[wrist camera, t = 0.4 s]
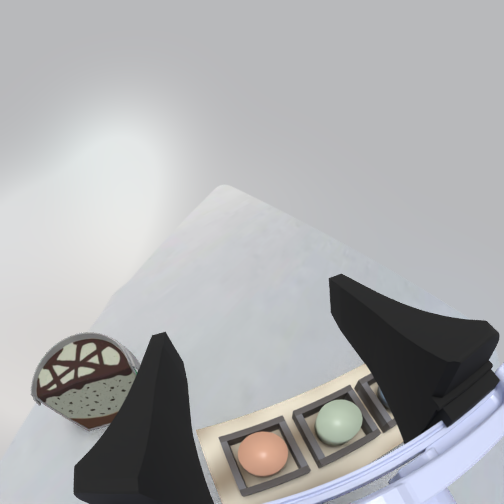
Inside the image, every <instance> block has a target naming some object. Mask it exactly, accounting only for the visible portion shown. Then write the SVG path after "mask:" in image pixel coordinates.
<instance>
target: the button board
mask: <svg viewBox="0 0 504 504" xmlns="http://www.w3.org/2000/svg"><path fill="white" fill-rule="evenodd" d="M377 390H378V384H377V382H376V381H375V379H374V377H373V375H372V373H371V372H370V370H369V369H368V367H367V366H366V364H363V365H361V366H359V367H357V368H356V369H354V370H352V371H350V372H348V373H346V374H344V375H342V376H340V377H338V378H335V379H333V380H331V381H329V382H327V383H325V384H323V385H321V386H318V387H316V388H314V389H312V390H309V391H307V392H305V393H302V394H300V395H298V396H295V397H293V398H290V399H288V400H285V401H283V402H280V403H278V404H275V405H273V406H270V407H267V408H265V409H262V410H259V411H256V412H253V413H251V414H248V415H245V416H242V417H239V418H236V419H232V420H229V421H226V422H223V423H220V424H216V425H213V426H209V427H206V428H202V429H198V430H196V432H197V435H198V438H199V441H200V444H201V447H202V450H203V453H204V456H205V459H206V462H207V465H208V467H209V470H210V473H211V476H212V478H213V481H214V484H215V486H216V489H217V491H218V494H219V496H220V499H221V501H222V504H263V503H267V502H270V501H274V500H277V499H281V498H284V497H288V496H291V495H294V494H297V493H300V492H303V491H306V490H309V489H312V488H314V487H317V486H320V485H322V484H325V483H327V482H330V481H332V480H335V479H337V478H340V477H342V476H344V475H347V474H349V473H351V472H353V471H355V470H358V469H360V468H362V467H364V466H366V465H368V464H370V463H371V462H373V461H375V460H376V459H378V458H379V457H381V456H383V455H384V454H386V453H387V452H389V451H390V450H392V449H393V448H395V447H396V446H398V445H399V444H401V443H402V442H404V441H403V438H402V436H401V433H400V431H399V428H398V426H397V423H396V421H395V419H394V417H393V414H392V412H391V410H390V408H388V407H386V406H384V405H383V404H382V403H381V401H380V400H379V397H378V393H377ZM334 400H347V401H350V402H352V403H354V404H355V405H356V406H357V407H358V408H359V409H360V411H361V414H362V419H363V420H362V426H361V428H360V430H359V431H358V433H357V434H356V435H355V436H354V437H353V438H352V439H351V440H350V441H348V442H347V443H345V444H342V445H336V446H335V445H328V444H326V443H324V442H322V441H321V440H320V439H319V438H318V437H317V435H316V433H315V428H314V425H315V421H316V418H317V416H318V413H319V411H320V410H321V408H322V407H323V406H324V405H325V404H327V403H329V402H331V401H334ZM256 432H271V433H274V434H276V435H278V436H279V437H281V438H282V439H283V440H284V442H285V443H286V445H287V449H288V457H287V461H286V464H285V466H284V467H283V469H282V470H281V471H280V472H278V473H277V474H275V475H273V476H269V477H257V476H254V475H252V474H250V473H248V472H247V471H246V470H245V469H244V468H243V466H242V465H241V463H240V461H239V458H238V449H239V446H240V444H241V442H242V441H243V440H244V439H245V438H246V437H248V436H249V435H251V434H253V433H256Z"/></svg>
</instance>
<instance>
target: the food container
mask: <svg viewBox="0 0 504 504" xmlns="http://www.w3.org/2000/svg"><path fill="white" fill-rule="evenodd" d="M134 367H135V368H136V369H138V370H139V367H140V363H139V362H138V360H137V359H136V357H135V356H134V355H133V354H132V353H131V352H130V351H129V350H128V349H127V348H125V347H124V346H123V345H122V344H120V343H119V342H118V341H116V340H114V339H113V338H111V337H108V336H106V335H103V334H100V333H94V332H85V333H79V334H75V335H72V336H70V337H68V338H65V339H63V340H62V341H60V342H58V343H57V344H56V345H55V346H53V347H52V348H51V349H50V350H49V351H48V352H47V353H46V354H45V356H44V357H43V358H42V360H41V361H40V363H39V365H38V366H37V369H36V371H35V373H34V376H33V380H32V386H31V395H32V396H33V399H34V400H35V401H36V403H37V404H38V405H39V406H40V405H41V403H43V404H44V405H46V406H47V407H49V408H50V409H52V410H54V411H55V412H57V413H58V414H60V415H62V416H63V417H65V418H67V419H68V420H70V421H72V422H74V423H75V424H77V425H79V426H81V427H83V428H85V429H86V430H88V431H91V430H95V429H99V428H102V427H105V426H109V425H110V424H111V422H112V421H113V419H114V418H115V416H116V415H117V413H118V411H119V410H120V408H121V406H122V404H123V402H124V400H125V399H126V397H127V395H128V392H129V390H130V388H131V386H132V384H133V382H134V379H135V377H136V375H137V372H136V370H135V368H134Z"/></svg>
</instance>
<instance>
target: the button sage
mask: <svg viewBox="0 0 504 504" xmlns="http://www.w3.org/2000/svg"><path fill="white" fill-rule="evenodd" d="M362 420H363V419H362V414H361V411H360V409H359V408H358V407H357V406H356V405H355V404H354V403H352V402H350V401H347V400H334V401H331V402H329V403H327V404H325V405H324V406H323V407H322V408H321V410H320V411H319V413H318V416H317V418H316V421H315V425H314V428H315V433H316V435H317V437H318V438H319V439H320V440H321V441H322V442H324V443H326V444H328V445H335V446H336V445H342V444H345V443H347V442H348V441H350V440H351V439H352V438H353V437H354V436H355V435H356V434H357V433H358V431H359V430H360V428H361V426H362Z"/></svg>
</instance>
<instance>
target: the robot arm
mask: <svg viewBox="0 0 504 504" xmlns="http://www.w3.org/2000/svg"><path fill="white" fill-rule="evenodd" d="M329 287H330V304H331V314H332V316H333V317H334V319H335V321H336V323H337V325H338V327H339V328H340V330H341V332H342V333H343V334H344V336H345V337H346V339H347V340H348V341H349V343H350V344H351V345H352V347H353V348H354V349H355V351H356V352H357V353H358V355H359V356H360V358H361V359H362V360H363V362H364V363H365V364H366V366H367V367H368V369H369V370H370V372H371V373H372V375H373V377H374V379H375V381H376V382H377V384H378V386H379V388H380V390H381V392H382V394H383V396H384V398H385V400H386V402H387V404H388V406H389V408H390V410H391V412H392V414H393V417H394V419H395V421H396V423H397V426H398V428H399V431H400V433H401V436H402V438H403V441H404V444H405V445H403V446H401V447H399V448H398V449H396V450H394V451H393V452H391V453H389V454H387V455H385V456H383V457H382V458H380V459H378V460H376V461H374V462H372V463H370V464H368V465H366V466H364V467H362V468H360V469H358V470H355V471H353V472H351V473H349V474H347V475H344V476H342V477H340V478H337V479H335V480H332V481H330V482H327V483H325V484H322V485H320V486H317V487H314V488H312V489H309V490H306V491H303V492H300V493H297V494H294V495H291V496H288V497H284V498H281V499H277V500H274V501H270V502H267V503H263V504H322V503H325V502H327V501H330V500H333V499H335V498H338V497H340V496H342V495H345V494H347V493H349V492H352V491H354V490H356V489H358V488H360V487H362V486H365V485H367V484H369V483H371V482H373V481H375V480H377V479H379V478H380V477H382V476H384V475H386V474H388V473H390V472H392V471H393V470H395V469H397V468H399V467H400V466H402V465H404V464H405V463H407V462H409V461H410V460H412V459H414V458H415V457H417V456H418V455H420V454H421V455H420V456H418V457H417V458H415V459H414V460H413V461H411V462H410V463H408V464H407V465H405V466H404V467H402V468H401V469H399V470H398V473H397V474H396V475H395V476H394V477H393V478H392V479H390V480H389V482H388V483H389V485H388V486H386V487H384V488H382V489H380V490H378V491H376V492H374V493H372V494H369V495H367V496H365V497H363V498H361V499H359V500H356V501H354V502H352V503H349V504H457V503H456V501H455V500H454V498H453V496H452V495H451V493H450V491H449V490H448V488H447V487H448V486H449V485H450V484H452V483H453V482H454V481H456V480H457V479H458V478H459V477H460V476H462V475H463V474H464V473H465V472H466V471H468V470H469V469H470V468H471V467H472V466H473V465H474V464H476V463H477V462H478V461H479V460H480V459H481V458H482V457H483V456H484V455H485V454H486V453H487V452H488V451H489V450H490V449H491V448H492V447H493V446H494V445H495V444H496V443H497V442H498V441H499V440H500V439H501V438H502V437H503V436H504V363H503V364H502V365H501V366H500V367H499V368H498V369H497V370H496V371H495V373H494V372H493V371H492V370H491V368H492V367H493V365H492V363H491V362H490V361H489V359H490V357H491V355H492V353H493V351H494V349H495V348H496V346H497V343H498V341H499V333H498V332H497V331H496V330H495V329H494V328H493V327H492V326H491V325H490V324H489V323H488V322H487V321H481V320H466V319H459V318H452V317H447V316H442V315H438V314H433V313H429V312H426V311H422V310H419V309H416V308H413V307H410V306H407V305H405V304H402V303H400V302H397V301H395V300H393V299H390V298H388V297H386V296H384V295H382V294H380V293H378V292H376V291H374V290H372V289H370V288H368V287H366V286H364V285H362V284H360V283H358V282H356V281H354V280H353V279H351V278H349V277H347V276H345V275H343V274H339V275H336V276H334V277H331V278H329ZM74 495H75V496H76V497H77V498H78V499H80V500H82V501H84V502H87V503H89V504H214V503H213V500H212V497H211V495H210V492H209V489H208V487H207V484H206V481H205V478H204V475H203V472H202V468H201V465H200V461H199V458H198V454H197V450H196V446H195V442H194V438H193V433H192V426H191V417H190V406H189V394H188V383H187V378H186V373H185V368H184V363H183V361H182V359H181V357H180V356H179V354H178V352H177V351H176V349H175V347H174V346H173V344H172V342H171V341H170V339H169V337H168V335H167V334H166V332H163V333H159V334H156V335H152V337H151V339H150V342H149V345H148V347H147V350H146V352H145V355H144V358H143V360H142V363H141V365H140V367H139V370H138V372H137V375H136V377H135V379H134V382H133V384H132V386H131V388H130V390H129V392H128V395H127V397H126V399H125V400H124V402H123V404H122V406H121V408H120V410H119V411H118V413H117V415H116V416H115V418H114V419H113V421H112V422H111V424H110V425H109V427H108V428H107V430H106V431H105V432H104V434H103V435H102V436H101V438H100V439H99V440H98V441H97V443H96V444H95V445H94V446H93V447H92V449H91V450H90V451H89V452H88V453H87V454H86V455H85V456H84V457H83V458H82V459H81V460H80V461H79V462H78V463H77V464H76V465H75V467H74Z"/></svg>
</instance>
